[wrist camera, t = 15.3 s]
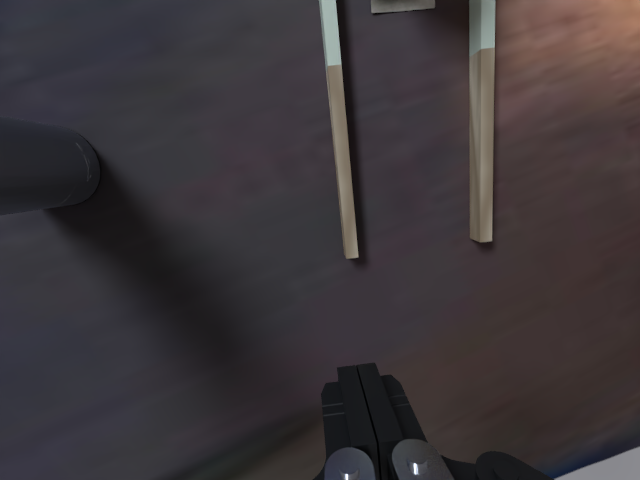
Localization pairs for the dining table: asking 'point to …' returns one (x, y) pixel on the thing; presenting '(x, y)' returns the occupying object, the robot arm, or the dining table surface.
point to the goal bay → (478, 28)
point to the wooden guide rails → (479, 149)
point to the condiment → (400, 5)
